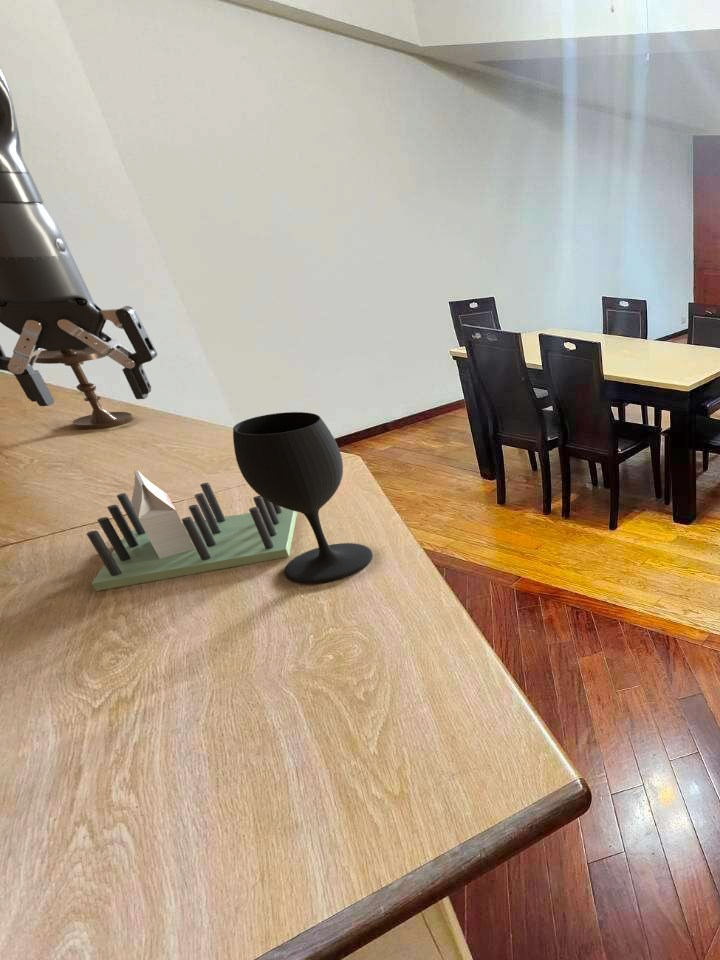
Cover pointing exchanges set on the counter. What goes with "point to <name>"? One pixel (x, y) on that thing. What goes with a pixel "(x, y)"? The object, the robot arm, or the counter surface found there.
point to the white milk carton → (159, 519)
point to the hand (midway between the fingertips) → (96, 401)
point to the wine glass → (299, 485)
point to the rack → (212, 539)
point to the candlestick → (85, 387)
